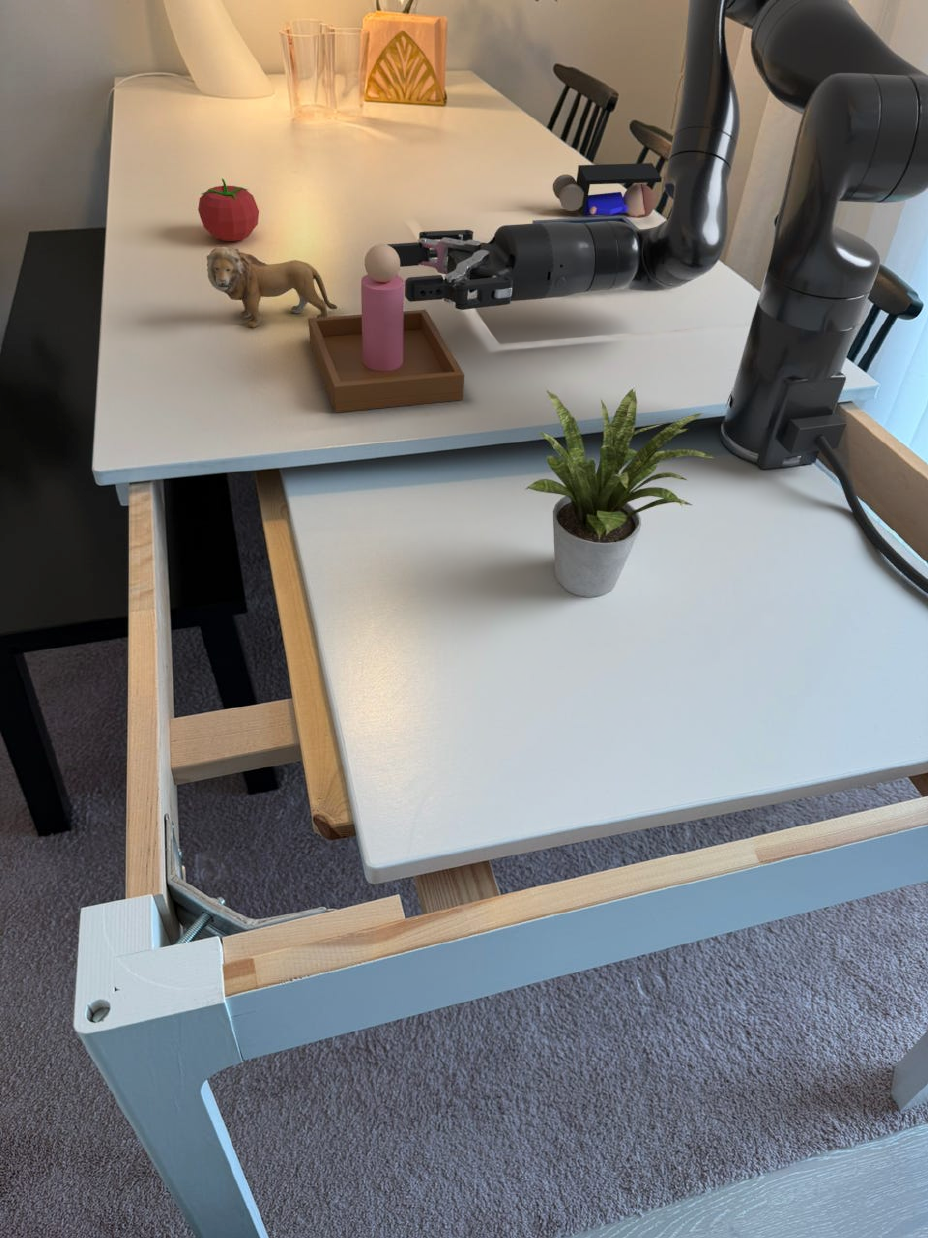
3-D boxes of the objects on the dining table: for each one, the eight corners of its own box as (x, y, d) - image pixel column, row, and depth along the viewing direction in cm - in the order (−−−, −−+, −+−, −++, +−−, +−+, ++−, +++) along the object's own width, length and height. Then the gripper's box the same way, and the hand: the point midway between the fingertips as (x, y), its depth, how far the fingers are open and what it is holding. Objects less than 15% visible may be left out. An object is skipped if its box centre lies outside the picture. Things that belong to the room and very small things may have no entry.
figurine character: (560, 235, 137) (659, 225, 138) (561, 182, 132) (663, 171, 132) (551, 219, 142) (647, 208, 142) (552, 166, 136) (651, 156, 137)
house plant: (698, 645, 72) (755, 469, 61) (523, 648, 71) (548, 468, 59) (656, 532, 82) (698, 364, 71) (502, 533, 81) (521, 362, 70)
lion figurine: (219, 337, 105) (209, 258, 98) (209, 317, 108) (198, 239, 102) (343, 320, 109) (341, 244, 103) (330, 302, 113) (326, 227, 107)
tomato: (199, 228, 127) (191, 169, 122) (256, 225, 130) (250, 167, 124) (206, 251, 122) (198, 190, 117) (265, 247, 124) (260, 187, 119)
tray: (462, 400, 97) (464, 374, 95) (335, 413, 94) (334, 386, 92) (425, 333, 108) (425, 309, 106) (309, 343, 105) (308, 317, 103)
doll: (407, 369, 100) (409, 252, 91) (367, 373, 98) (365, 255, 90) (397, 350, 103) (398, 235, 94) (359, 353, 102) (356, 238, 93)
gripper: (521, 201, 100) (377, 209, 96) (573, 251, 91) (414, 263, 86) (515, 269, 105) (377, 280, 101) (563, 324, 96) (413, 338, 91)
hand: (394, 272), depth 94 cm, fingers open, 8 cm apart
